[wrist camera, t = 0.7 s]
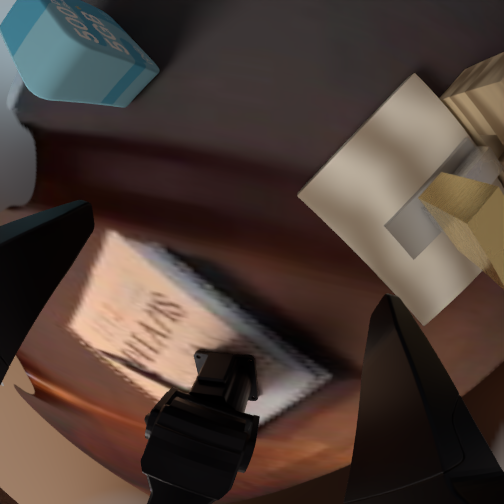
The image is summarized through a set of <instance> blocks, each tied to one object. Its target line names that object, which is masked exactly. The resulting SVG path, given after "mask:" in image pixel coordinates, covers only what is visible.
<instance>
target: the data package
mask: <svg viewBox="0 0 504 504" xmlns="http://www.w3.org/2000/svg"><path fill="white" fill-rule="evenodd" d="M0 33H1V35H2V37H3V40H4V42H5V44H6V47H7V49H8V51H9V53H10V55H11V57H12V59H13V61H14V63H15V65H16V67H17V69H18V71H19V73H20V75H21V77H22V79H23V81H24V83H25V85H26V87H27V88H28V89H29V90H30V91H31V92H32V93H33V94H35V95H36V96H38V97H40V98H43V99H46V100H54V101H69V102H80V103H90V104H100V105H108V106H116V107H127V106H128V105H129V104H130V103H131V101H132V100H133V99H134V98H135V97H136V96H137V95H138V94H139V93H140V92H141V91H142V90H143V89H144V87H145V86H146V85H147V84H148V83H149V82H150V81H151V80H152V79H153V78H154V77H155V76H156V75H157V74H158V73H159V68H158V66H157V65H156V64H155V63H154V62H153V61H152V59H151V58H150V57H149V56H148V55H147V54H146V53H145V52H144V51H143V50H142V49H141V48H140V47H139V46H138V44H137V43H136V42H135V41H134V40H133V39H132V38H131V37H130V36H129V35H128V34H127V33H126V32H125V31H124V30H123V29H122V28H121V27H120V26H119V25H118V24H117V23H116V22H115V21H114V20H113V19H112V18H111V17H110V16H109V15H108V14H106V13H105V12H103V11H102V10H100V9H98V8H96V7H94V6H92V5H90V4H87V3H85V2H83V1H81V0H17V1H16V2H15V4H14V5H13V7H12V8H11V10H10V11H9V13H8V14H7V16H6V17H5V19H4V20H3V22H2V23H1V25H0Z"/></svg>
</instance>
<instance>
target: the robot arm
mask: <svg viewBox="0 0 504 504" xmlns="http://www.w3.org/2000/svg"><path fill="white" fill-rule="evenodd" d="M93 230H94V218H93V210H92V205H91V204H90V203H89V202H86V201H83V200H78V201H74V202H71V203H67V204H64V205H61V206H58V207H54V208H51V209H48V210H45V211H42V212H39V213H36V214H33V215H30V216H27V217H24V218H21V219H18V220H16V221H13V222H10V223H7V224H5V225H2V226H0V385H1V383H2V380H3V378H4V376H5V374H6V372H7V370H8V369H9V366H10V364H11V362H12V361H13V359H14V357H15V355H16V353H17V351H18V349H19V348H20V346H21V344H22V342H23V341H24V339H25V337H26V335H27V334H28V332H29V330H30V329H31V327H32V325H33V324H34V322H35V320H36V319H37V317H38V316H39V314H40V312H41V311H42V309H43V308H44V306H45V304H46V303H47V301H48V300H49V298H50V297H51V295H52V294H53V292H54V291H55V289H56V288H57V286H58V285H59V284H60V282H61V281H62V279H63V278H64V276H65V275H66V274H67V272H68V271H69V269H70V268H71V266H72V264H73V263H74V261H75V260H76V258H77V256H78V255H79V253H80V251H81V250H82V248H83V246H84V245H85V243H86V242H87V240H88V238H89V237H90V235H91V234H92V232H93ZM198 355H199V356H198ZM194 359H195V363H196V367H197V372H198V376H197V379H196V381H195V383H194V385H193V386H192V388H191V390H190V392H189V394H187V393H184V392H181V391H179V390H178V389H176V388H174V387H172V388H171V389H170V390H169V391H168V392H166V394H165V395H164V396H163V397H162V398H161V400H160V401H159V402H158V403H157V404H156V405H155V407H154V408H153V409H152V410H151V412H150V413H149V414H147V415H146V417H145V422H146V425H147V426H146V431H145V438H146V439H148V443H147V445H146V448H145V451H144V454H143V456H142V458H141V467H142V472H143V473H144V474H146V475H147V479H148V483H149V487H150V490H151V495H150V498H149V500H148V503H147V504H212V503H213V502H214V501H216V500H219V499H220V498H222V497H223V496H224V495H225V494H227V493H228V491H229V490H230V489H231V488H232V485H233V483H234V480H235V477H236V474H237V472H242V473H244V472H245V471H246V469H247V467H248V465H249V462H250V460H251V457H252V454H253V451H254V447H255V443H256V438H257V431H258V425H259V418H260V416H256V415H254V416H253V415H250V414H246V413H244V412H245V408H246V405H247V401H248V400H250V401H256V400H257V399H258V385H257V374H256V362H255V358H254V357H253V356H251V355H239V354H225V353H214V352H203V351H197V352H196V353H195V354H194ZM249 359H250V360H252V361H249ZM253 396H254V397H253ZM0 504H18V503H17V502H16V501H15V500H13V499H12V498H11V497H10V496H9V495H8V494H7V493H6V492H5V491H3V490H2V489H1V488H0ZM344 504H504V472H503V470H502V469H501V467H500V466H499V464H498V462H497V460H496V458H495V456H494V455H493V453H492V451H491V450H490V448H489V446H488V444H487V443H486V441H485V439H484V437H483V436H482V434H481V432H480V430H479V429H478V427H477V425H476V423H475V422H474V420H473V418H472V416H471V414H470V413H469V411H468V409H467V407H466V405H465V403H464V401H463V400H462V398H461V396H460V395H459V392H458V391H457V389H456V387H455V385H454V383H453V382H452V380H451V378H450V376H449V375H448V373H447V371H446V369H445V368H444V366H443V364H442V363H441V361H440V359H439V358H438V356H437V354H436V353H435V351H434V349H433V348H432V346H431V344H430V343H429V341H428V340H427V338H426V336H425V335H424V333H423V332H422V330H421V329H420V327H419V325H418V324H417V322H416V321H415V319H414V318H413V316H412V315H411V313H410V312H409V310H408V309H407V307H406V306H405V304H404V303H403V301H402V300H401V299H400V297H398V296H395V295H392V294H385V295H384V296H383V298H382V299H381V301H380V302H379V304H378V305H377V307H376V308H375V310H374V311H373V313H372V315H371V319H370V324H369V331H368V338H367V344H366V350H365V356H364V362H363V369H362V380H361V391H360V402H359V411H358V420H357V428H356V436H355V443H354V449H353V456H352V462H351V468H350V473H349V479H348V484H347V489H346V494H345V498H344Z"/></svg>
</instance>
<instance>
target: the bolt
mask: <svg viewBox="0 0 504 504" xmlns="http://www.w3.org/2000/svg"><path fill="white" fill-rule="evenodd" d="M503 169H504V168H503V167H502V165H501V164H500V162H499V160H498V159H497V157H496V156H495V154H494V153H493V151H492V150H491V148H490V147H485V146H476V147H475V148H474V150H473V151H472V152H471V153H470V154H469V156H468V157H467V158H466V159H465V160H464V162H463V163H462V164H461V165H460V166H459V167H458V168H457V170H456V171H455V172H454V173H453V174H448V173H443V172H441V173H440V174H439V175H438V176H437V178H436V179H435V180H434V181H433V182H432V183H431V184H430V185H429V186H428V187H427V188H426V190H425V191H424V192H423V193H422V194H421V195H420V196H419V197H418V199H419V200H420V201H421V202H422V204H423V205H424V206H423V207H422V208H421V209H422V210H423V211H424V212H425V214H426V215H427V216H428V217H429V219H430V220H431V221H432V222H433V224H434V225H435V226H436V228H438V229H439V230H441V231H442V232H443V233H445V234H446V235H447V236H448V237H449V239H450V240H451V241H452V243H453V244H454V246H455V247H456V248H457V250H458V251H460V252H461V253H462V254H463V255H465V256H466V257H467V258H468V259H469V260H471V261H472V262H473V263H474V264H475V265H477V266H478V267H479V268H480V269H481V270H482V271H484V272H485V273H486V274H487V275H488V276H489V277H490V278H492V279H493V280H494V281H495V282H496V283H497V284H498V285H499V286H500V287H501V288H503V289H504V195H503V193H502V191H501V190H500V188H499V187H498V186H495V185H491V184H492V183H493V182H494V180H495V179H496V178H497V177H498V175H499V174H500V173H501V171H502V170H503Z"/></svg>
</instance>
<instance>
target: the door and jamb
mask: <svg viewBox="0 0 504 504" xmlns="http://www.w3.org/2000/svg"><path fill="white" fill-rule="evenodd" d="M476 146H485V147H490V148H491V150H492V151H493V153H494V154H495V156H496V157H497V159H498V160H499V162H500V164H501V165H502V167H503V168H504V52H503V53H500V54H498V55H496V56H493V57H491V58H489V59H487V60H484V61H482V62H480V63H478V64H475V65H473V66H471V67H469V68H467V69H465V70H464V71H463V72H462V73H461V74H460V75H459V76H458V78H457V79H456V80H455V81H454V82H453V83H452V84H451V85H450V87H449V88H448V89H447V90H446V91H445V92H444V93H443V94H442V95H441V97H440V98H438V97H437V96H436V95H435V94H434V93H433V91H432V90H431V89H430V88H429V87H428V86H427V85H426V84H425V83H424V82H423V81H422V80H421V79H420V78H419V77H418V76H417V75H416V74H415V73H414V74H412V75H411V76H409V77H408V78H407V79H406V80H405V81H404V82H403V83H402V84H401V85H400V86H399V87H398V88H397V89H396V90H395V91H394V92H393V93H392V94H391V95H390V96H389V97H388V98H387V100H386V101H385V102H384V103H383V104H382V105H381V106H380V107H379V108H378V109H377V110H376V111H375V112H374V113H373V114H372V115H371V116H370V117H369V118H368V119H367V120H366V121H365V122H364V124H363V125H362V126H361V127H360V128H359V129H358V130H357V131H356V132H355V133H354V134H353V135H352V136H351V137H350V138H349V139H348V140H347V141H346V142H345V143H344V144H343V146H342V147H341V148H340V149H339V150H338V151H337V152H336V153H335V154H334V155H333V156H332V157H331V158H330V159H329V160H328V161H327V162H326V163H325V164H324V166H323V167H322V168H321V169H320V170H319V171H318V172H317V173H316V174H315V175H314V176H313V177H312V178H311V179H310V180H309V181H308V182H307V183H306V185H305V186H304V187H303V188H302V189H301V190H300V191H299V192H298V195H297V196H298V197H299V198H300V199H301V200H302V201H303V202H304V203H305V204H306V205H307V206H308V207H310V208H311V209H312V210H313V211H314V212H315V213H316V214H317V215H318V216H319V217H320V218H321V219H322V220H323V221H324V222H325V223H326V224H327V225H328V226H329V227H330V228H331V229H332V230H333V231H335V232H336V233H337V234H338V235H339V236H340V237H341V238H342V239H343V240H344V241H345V242H346V243H347V244H348V245H349V246H350V247H351V248H352V249H353V250H354V251H355V252H356V253H357V255H358V256H359V257H360V258H361V259H362V260H363V261H364V262H365V263H366V264H367V265H368V266H369V267H370V268H371V269H372V270H373V271H374V272H375V273H376V274H377V275H378V276H379V277H380V278H381V280H382V281H383V282H384V283H385V284H386V285H387V286H388V287H389V288H390V289H391V290H392V291H393V292H394V294H395V295H396V296H398V297H400V299H401V300H402V301H403V303H404V304H405V306H406V307H407V308H408V309H409V310H410V311H411V312H412V314H413V315H414V316H415V317H416V318H417V319H418V320H419V321H420V323H421V324H422V325H423V326H425V325H426V324H427V323H428V322H429V321H430V320H432V319H433V318H434V317H435V316H436V315H437V314H438V313H440V312H441V311H442V310H443V309H444V308H445V307H446V306H447V305H448V304H449V303H450V302H451V301H452V300H454V299H455V298H456V297H457V296H458V295H459V294H460V293H461V292H462V291H463V290H464V289H465V288H466V287H467V286H468V285H469V284H470V283H471V282H472V281H473V280H474V279H475V278H476V277H477V276H478V275H479V274H480V272H481V271H482V270H481V269H480V268H479V267H478V266H477V265H475V264H474V263H473V262H472V261H471V260H469V259H468V258H467V257H466V256H465V255H463V254H462V253H461V252H460V251H458V250H457V248H456V247H455V246H454V244H453V243H452V241H451V240H450V239H449V237H448V236H447V235H446V234H445V233H443V232H442V231H441V230H439V229H438V228H436V226H435V225H434V224H433V222H432V221H431V220H430V219H429V217H428V216H427V215H426V214H425V212H424V211H423V210H422V209H421V208H422V207H423V206H424V205H423V204H422V202H421V201H420V200H419V199H418V197H419V196H420V195H421V194H422V193H423V192H424V191H425V190H426V188H427V187H428V186H429V185H430V184H431V183H432V182H433V181H434V180H435V179H436V178H437V176H438V175H439V174H440V173H441V172H443V173H448V174H453V173H454V172H455V171H456V170H457V168H458V167H459V166H460V165H461V164H462V163H463V162H464V160H465V159H466V158H467V157H468V156H469V154H470V153H471V152H472V151H473V150H474V148H475V147H476ZM491 185H495V186H498V187H499V188H500V190H501V191H502V193H503V195H504V169H503V170H502V171H501V173H500V174H499V175H498V177H497V178H496V179H495V180H494V182H493V183H492V184H491Z"/></svg>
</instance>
